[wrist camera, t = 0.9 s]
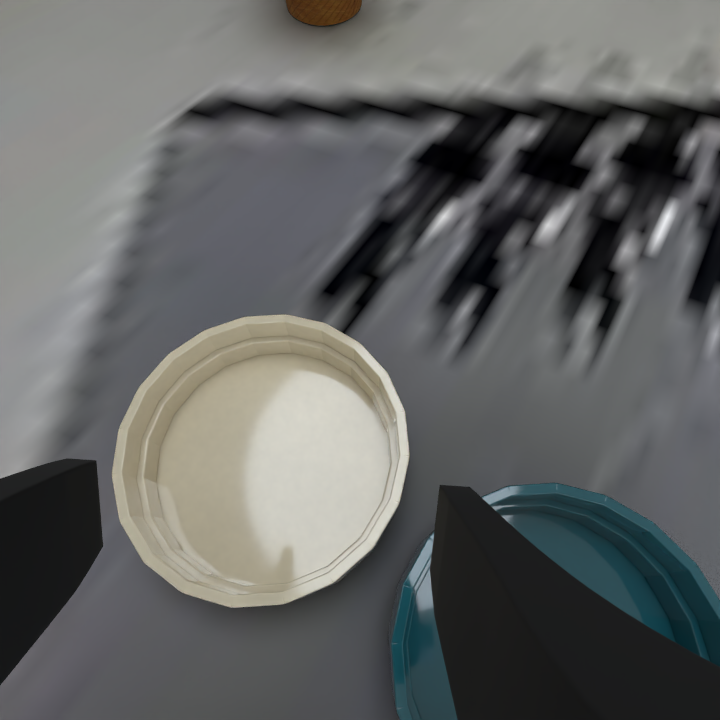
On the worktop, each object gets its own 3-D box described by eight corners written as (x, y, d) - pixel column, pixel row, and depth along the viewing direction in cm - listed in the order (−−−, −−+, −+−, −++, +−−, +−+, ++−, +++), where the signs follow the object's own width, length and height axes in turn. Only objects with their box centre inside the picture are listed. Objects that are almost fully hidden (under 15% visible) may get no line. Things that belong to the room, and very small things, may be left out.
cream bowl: (456, 477, 24) (470, 461, 21) (239, 671, 21) (215, 687, 17) (301, 305, 28) (293, 270, 25) (101, 443, 25) (62, 423, 22)
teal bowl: (757, 675, 20) (830, 693, 17) (552, 948, 17) (595, 1033, 14) (528, 443, 24) (552, 423, 21) (328, 626, 21) (321, 634, 18)
